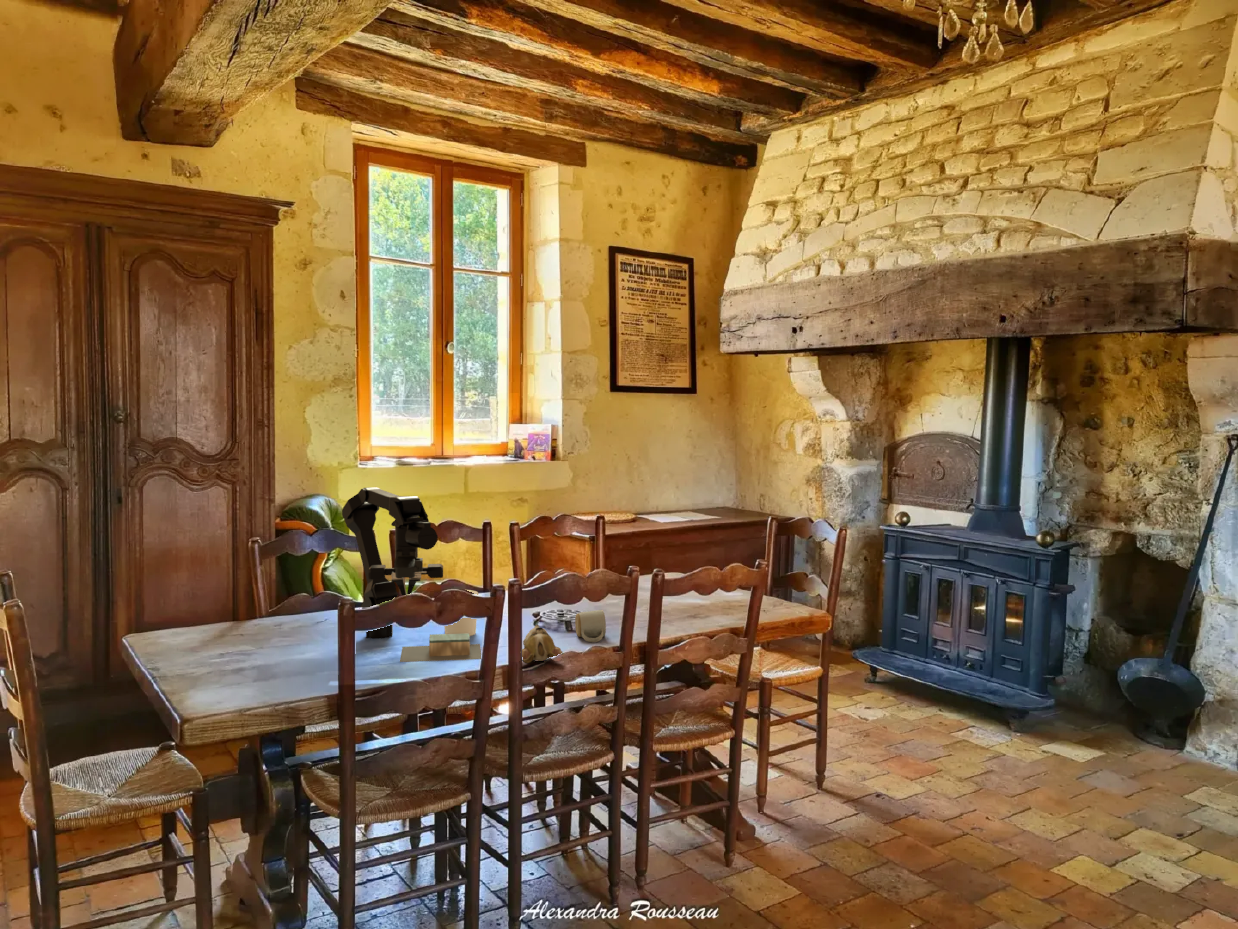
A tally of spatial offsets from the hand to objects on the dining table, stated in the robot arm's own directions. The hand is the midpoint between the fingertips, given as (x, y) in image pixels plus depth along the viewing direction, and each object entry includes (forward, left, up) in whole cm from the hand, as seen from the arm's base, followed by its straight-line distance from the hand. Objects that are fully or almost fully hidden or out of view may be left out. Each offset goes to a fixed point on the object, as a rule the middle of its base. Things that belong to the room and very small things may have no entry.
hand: (406, 604), depth 233 cm
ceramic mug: (+50, +6, -12) cm, 52 cm away
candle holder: (+14, +12, -12) cm, 22 cm away
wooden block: (+6, -7, -9) cm, 13 cm away
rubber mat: (+9, -7, -12) cm, 17 cm away
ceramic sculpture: (+33, -14, -12) cm, 38 cm away
